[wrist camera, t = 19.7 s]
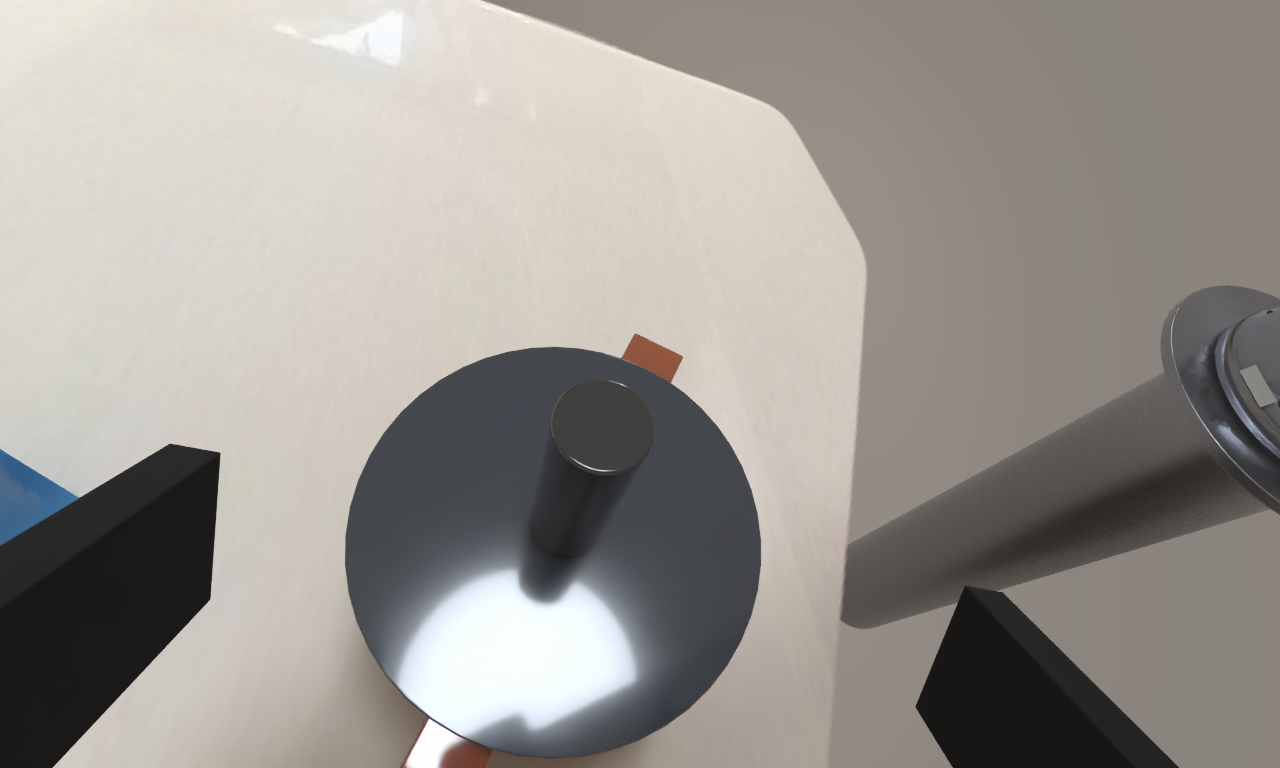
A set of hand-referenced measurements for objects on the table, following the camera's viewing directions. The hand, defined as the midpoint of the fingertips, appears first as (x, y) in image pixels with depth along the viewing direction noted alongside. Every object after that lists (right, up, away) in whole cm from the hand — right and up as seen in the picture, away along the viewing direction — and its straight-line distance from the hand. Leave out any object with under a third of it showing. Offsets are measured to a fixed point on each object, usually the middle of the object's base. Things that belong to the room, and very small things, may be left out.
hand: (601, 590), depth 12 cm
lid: (-2, -2, +13) cm, 13 cm away
